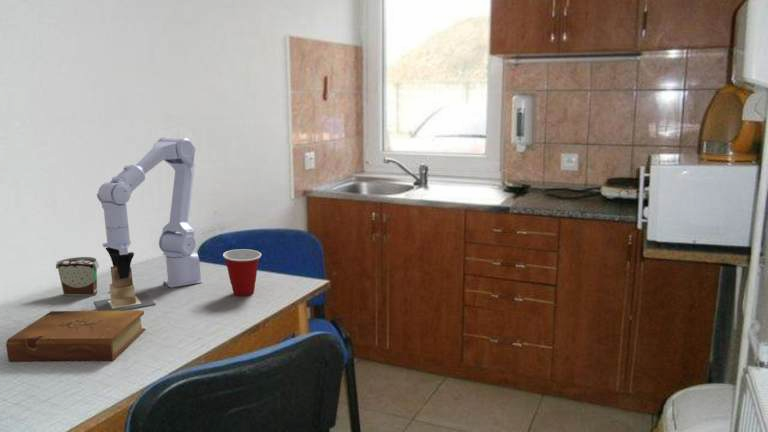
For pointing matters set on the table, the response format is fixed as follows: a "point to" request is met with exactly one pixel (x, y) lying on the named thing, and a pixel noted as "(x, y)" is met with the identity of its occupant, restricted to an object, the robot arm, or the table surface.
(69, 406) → the table surface
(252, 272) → the plastic cup
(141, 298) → the gray rectangular panel
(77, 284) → the food container
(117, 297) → the oak block
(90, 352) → the diary
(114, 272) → the walnut block
